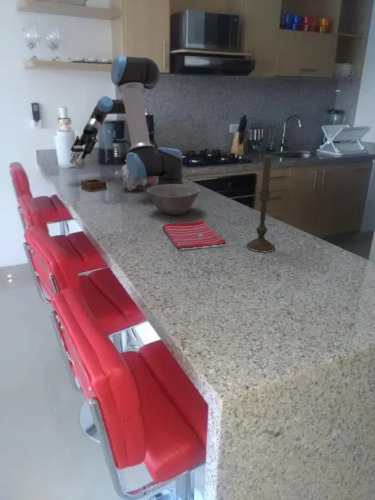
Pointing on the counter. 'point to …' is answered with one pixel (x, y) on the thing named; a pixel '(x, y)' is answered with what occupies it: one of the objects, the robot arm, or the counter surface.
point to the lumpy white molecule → (133, 179)
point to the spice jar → (76, 155)
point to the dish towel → (192, 235)
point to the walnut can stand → (93, 185)
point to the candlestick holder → (263, 211)
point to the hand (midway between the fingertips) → (74, 162)
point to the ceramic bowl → (173, 197)
